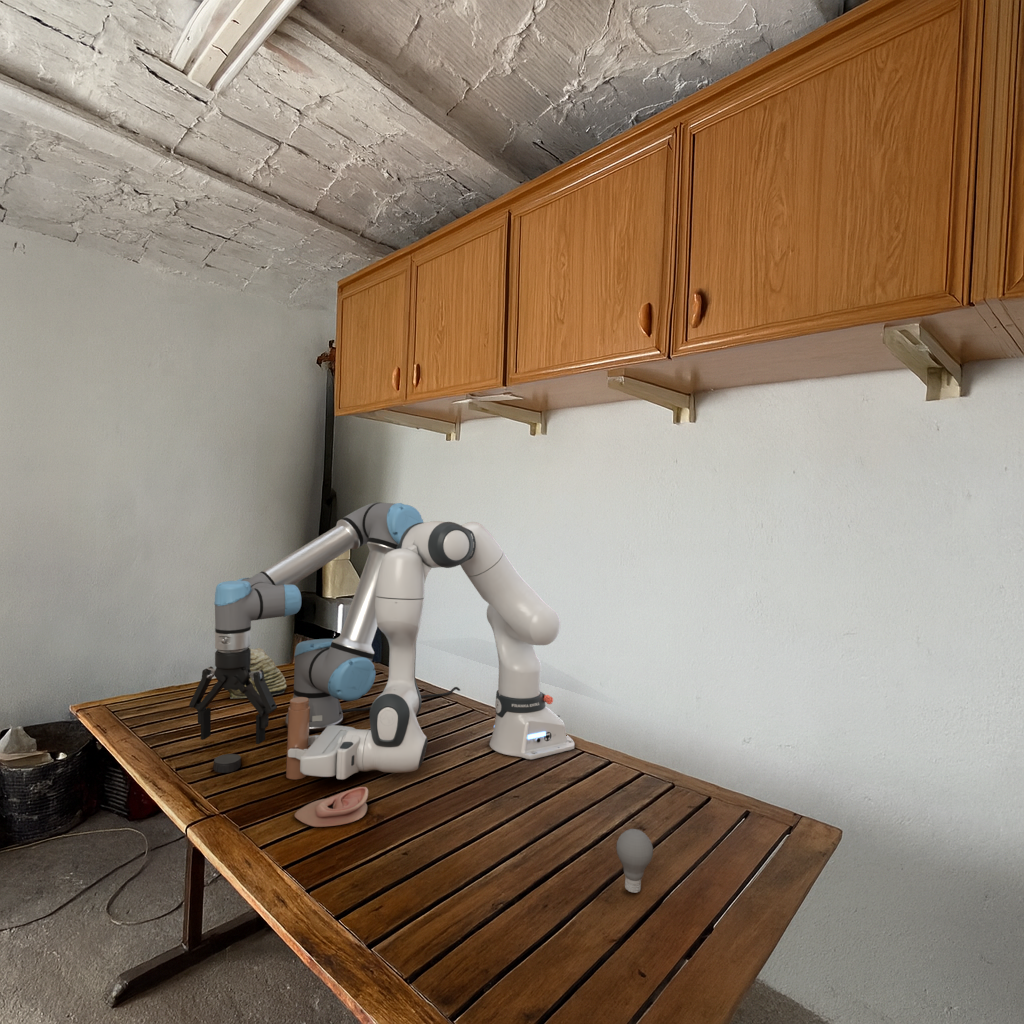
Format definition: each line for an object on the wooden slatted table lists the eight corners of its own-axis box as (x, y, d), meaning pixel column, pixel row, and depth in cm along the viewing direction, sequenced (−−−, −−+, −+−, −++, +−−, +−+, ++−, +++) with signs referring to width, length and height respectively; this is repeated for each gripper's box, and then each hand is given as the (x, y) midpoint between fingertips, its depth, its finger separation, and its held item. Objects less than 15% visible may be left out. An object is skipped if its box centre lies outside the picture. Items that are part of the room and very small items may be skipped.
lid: (208, 768, 145) (208, 759, 145) (230, 760, 150) (230, 751, 150) (223, 775, 142) (224, 766, 142) (246, 766, 147) (246, 757, 147)
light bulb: (610, 879, 108) (613, 822, 108) (644, 879, 109) (647, 822, 109) (619, 902, 102) (622, 840, 102) (655, 901, 103) (658, 840, 103)
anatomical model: (286, 802, 122) (316, 777, 134) (285, 822, 122) (315, 795, 134) (350, 811, 120) (375, 785, 131) (349, 832, 120) (374, 804, 131)
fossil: (218, 695, 195) (220, 647, 195) (278, 685, 208) (279, 640, 207) (228, 703, 189) (230, 653, 188) (289, 692, 201) (290, 645, 201)
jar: (283, 773, 144) (286, 698, 144) (303, 769, 147) (306, 695, 146) (289, 781, 140) (292, 704, 140) (310, 776, 143) (313, 700, 143)
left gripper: (172, 650, 143) (172, 742, 144) (276, 656, 140) (275, 750, 141) (193, 642, 151) (193, 729, 152) (292, 647, 148) (291, 736, 149)
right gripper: (366, 719, 154) (309, 717, 154) (342, 753, 133) (277, 750, 133) (365, 745, 154) (308, 742, 154) (341, 783, 133) (276, 780, 133)
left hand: (233, 739), depth 146 cm, fingers open, 13 cm apart
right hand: (293, 746), depth 143 cm, fingers closed on jar, 5 cm apart
